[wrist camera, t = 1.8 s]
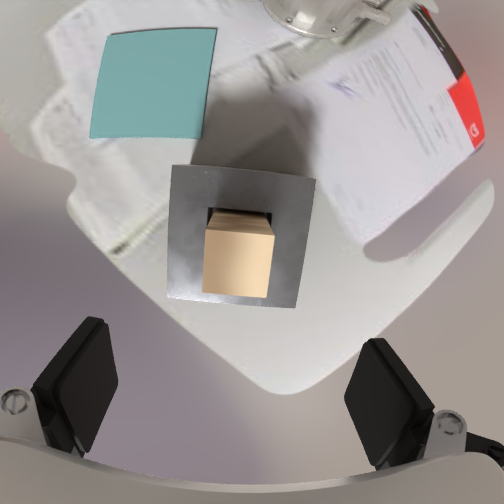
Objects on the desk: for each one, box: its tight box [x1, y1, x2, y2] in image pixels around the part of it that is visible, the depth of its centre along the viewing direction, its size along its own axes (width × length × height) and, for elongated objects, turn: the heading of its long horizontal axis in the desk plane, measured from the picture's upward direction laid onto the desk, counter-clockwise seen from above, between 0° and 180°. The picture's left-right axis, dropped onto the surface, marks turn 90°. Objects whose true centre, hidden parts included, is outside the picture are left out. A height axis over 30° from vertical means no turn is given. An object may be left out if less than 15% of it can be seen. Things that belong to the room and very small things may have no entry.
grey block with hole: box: [167, 164, 316, 308], centre depth 29 cm, size 12×12×9 cm
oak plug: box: [202, 208, 275, 298], centre depth 24 cm, size 4×4×11 cm
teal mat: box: [89, 29, 216, 139], centre depth 27 cm, size 14×14×1 cm
